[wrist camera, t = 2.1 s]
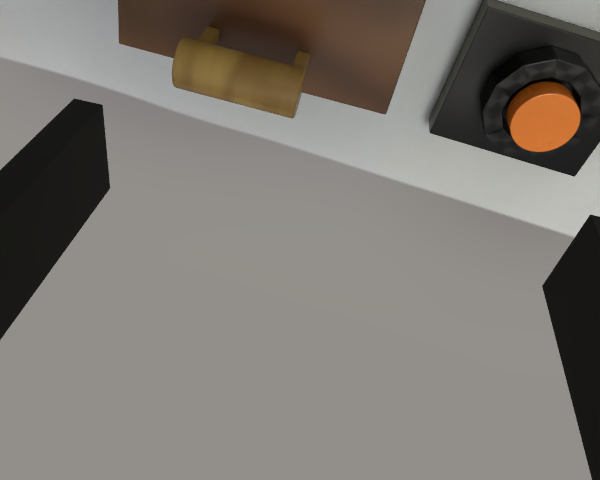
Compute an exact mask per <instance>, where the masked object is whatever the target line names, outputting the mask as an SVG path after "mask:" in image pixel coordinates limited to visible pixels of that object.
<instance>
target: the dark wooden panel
mask: <svg viewBox="0 0 600 480" xmlns="http://www.w3.org/2000/svg"><path fill="white" fill-rule="evenodd" d="M425 1H426V0H118V14H119V43H120V44H123V45H127V46H131V47H134V48H138V49H142V50H146V51H149V52H153V53H157V54H161V55H164V56H168V57H172V58H174V60H173V67H172V81H173V85H174V86H175V87H176V88H180V89H183V90H187V91H191V92H195V93H199V94H202V95H206V96H210V97H214V98H217V99H221V100H225V101H229V102H232V103H236V104H240V105H244V106H247V107H251V108H255V109H259V110H263V111H266V112H270V113H274V114H278V115H281V116H285V117H289V118H294V117H295V115H296V111H297V108H298V104H299V101H300V97H301V93H302V92H303V93H307V94H310V95H314V96H318V97H322V98H325V99H329V100H333V101H337V102H340V103H344V104H348V105H352V106H355V107H359V108H363V109H367V110H370V111H374V112H378V113H382V114H386V113H387V110H388V107H389V104H390V101H391V98H392V95H393V93H394V90H395V87H396V84H397V81H398V78H399V75H400V73H401V70H402V67H403V64H404V61H405V58H406V56H407V53H408V50H409V47H410V44H411V41H412V38H413V36H414V33H415V30H416V27H417V24H418V21H419V18H420V16H421V13H422V10H423V7H424V4H425Z"/></svg>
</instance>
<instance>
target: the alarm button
mask: <svg viewBox="0 0 600 480" xmlns="http://www.w3.org/2000/svg"><path fill="white" fill-rule="evenodd" d="M580 118H581V116H580V110H579V107H578V105H577V103H576V101H575V99H574V97H573V95H572V94H571V92H570V91H569V90H568V89H567V88H566V87H565V86H563V85H561V84H559V83H556V82H550V81H543V82H537V83H534V84H531V85H529V86H527V87H525V88H523V89H522V90H521V91H519V92H518V93H517V94H516V95H515V96H514V98H513V99H512V100H511V102H510V104H509V106H508V109H507V122H508V126H509V129H510V133H511V136H512V138H513V140H514V141H515V143H516V144H517V145H519V146H520V147H522V148H523V149H526V150H528V151H533V152H545V151H550V150H553V149H556V148H558V147H560V146H562V145H563V144H565V143H566V142H567V141H569V140H570V139H571V138H572V137H573V135H574V134H575V133H576V131H577V129H578V127H579V124H580Z"/></svg>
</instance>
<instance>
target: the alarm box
mask: <svg viewBox="0 0 600 480" xmlns="http://www.w3.org/2000/svg"><path fill="white" fill-rule="evenodd" d="M543 81H550V82H556V83H559V84H561V85H563V86H565V87H566V88H567V89H568V90H569V91H570V92H571V94H572V95H573V97H574V99H575V101H576V103H577V105H578V107H579V110H580V116H581V118H580V124H579V127H578V129H577V131H576V133H575V134H574V135H573V137H572V138H571V139H570V140H569V141H567V142H566V143H565V144H563V145H562V146H560V147H558V148H556V149H553V150H550V151H545V152H533V151H528V150H526V149H523V148H522V147H520V146H519V145H517V144H516V143H515V141H514V140H513V138H512V136H511V133H510V129H509V126H508V122H507V109H508V106H509V104H510V102H511V100H512V99H513V98H514V96H515V95H516V94H517V93H518V92H519V91H521V90H522V89H523V88H525V87H527V86H529V85H531V84H534V83H537V82H543ZM429 129H430V133H432V134H435V135H438V136H442V137H445V138H448V139H452V140H455V141H458V142H462V143H465V144H468V145H472V146H475V147H478V148H482V149H485V150H488V151H492V152H495V153H498V154H502V155H505V156H508V157H511V158H515V159H518V160H521V161H525V162H528V163H531V164H535V165H538V166H541V167H545V168H548V169H551V170H555V171H558V172H561V173H565V174H568V175H571V176H575V175H576V174H577V173H578V171H579V170H580V168H581V167H582V166H583V164H584V163H585V161H586V160H587V159H588V157H589V156H590V155H591V153H592V152H593V150H594V149H595V148H596V146H597V145H598V143H599V142H600V33H599V32H596V31H592V30H589V29H586V28H583V27H580V26H577V25H573V24H570V23H567V22H564V21H561V20H558V19H554V18H551V17H548V16H545V15H542V14H538V13H535V12H532V11H529V10H526V9H523V8H519V7H516V6H513V5H510V4H507V3H503V2H500V1H497V0H483V2H482V5H481V7H480V9H479V11H478V13H477V15H476V18H475V20H474V22H473V24H472V26H471V29H470V31H469V33H468V35H467V37H466V39H465V42H464V44H463V46H462V48H461V50H460V53H459V55H458V57H457V59H456V61H455V64H454V66H453V68H452V70H451V72H450V74H449V77H448V79H447V81H446V83H445V85H444V88H443V90H442V92H441V94H440V96H439V99H438V101H437V103H436V105H435V107H434V109H433V112H432V114H431V116H430V118H429Z"/></svg>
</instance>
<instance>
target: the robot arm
mask: <svg viewBox="0 0 600 480" xmlns="http://www.w3.org/2000/svg"><path fill="white" fill-rule="evenodd" d="M109 189H110V183H109V172H108V161H107V150H106V139H105V127H104V116H103V106H102V105H100V104H96V103H91V102H87V101H82V100H78V99H74V100H72V101H71V102H70V103H69V104H68V105H67V106H66V107H65V108H64V109H63V110H62V111H61V112H60V113H59V114H58V115H57V116H56V117H55V118H54V119H53V120H52V121H51V122H50V123H49V124H48V125H47V126H46V127H44V128H43V129H42V130H41V131H40V132H39V133H38V134H37V135H36V136H35V137H34V138H33V139H32V140H31V141H30V142H29V143H28V144H27V145H26V146H25V147H24V148H23V149H22V150H21V151H20V152H19V153H18V154H17V155H15V156H14V158H13V159H11V160H10V161H9V162H8V163H7V164H6V165H5V166H4V167H3V168H2V169H1V170H0V339H1V338H2V337H3V335H4V334H5V333H6V331H7V330H8V328H9V327H10V326H11V324H12V323H13V321H14V320H15V319H16V317H17V316H18V315H19V313H20V312H21V310H22V309H23V308H24V306H25V305H26V304H27V302H28V301H29V299H30V298H31V297H32V295H33V294H34V292H35V291H36V290H37V288H38V287H39V286H40V284H41V283H42V281H43V280H44V279H45V277H46V276H47V274H48V273H49V272H50V270H51V269H52V267H53V266H54V265H55V263H56V262H57V261H58V259H59V258H60V256H61V255H62V254H63V252H64V251H65V250H66V248H67V247H68V245H69V244H70V243H71V241H72V240H73V239H74V237H75V236H76V234H77V233H78V232H79V230H80V229H81V228H82V226H83V225H84V223H85V222H86V221H87V219H88V218H89V216H90V215H91V214H92V212H93V211H94V209H95V208H96V207H97V205H98V204H99V202H100V201H101V200H102V198H103V197H104V196H105V194H106V193H107V192H108V190H109ZM542 287H543V291H544V295H545V298H546V302H547V306H548V310H549V314H550V318H551V322H552V326H553V329H554V333H555V337H556V341H557V345H558V349H559V353H560V356H561V361H562V364H563V368H564V372H565V376H566V380H567V384H568V387H569V391H570V395H571V399H572V403H573V407H574V411H575V414H576V418H577V422H578V426H579V430H580V434H581V438H582V442H583V446H584V450H585V454H586V458H587V461H588V465H589V469H590V473H591V477H592V480H600V217H598V216H594V215H590V216H589V217H588V219H587V220H586V222H585V223H584V225H583V226H582V228H581V229H580V231H579V232H578V234H577V235H576V237H575V238H574V240H573V241H572V243H571V244H570V246H569V247H568V249H567V250H566V252H565V253H564V254H563V256H562V257H561V259H560V260H559V262H558V264H557V265H556V266H555V268H554V269H553V271H552V273H551V274H550V275H549V277H548V278H547V280H546V281H545V283H544V284H543V286H542Z"/></svg>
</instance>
